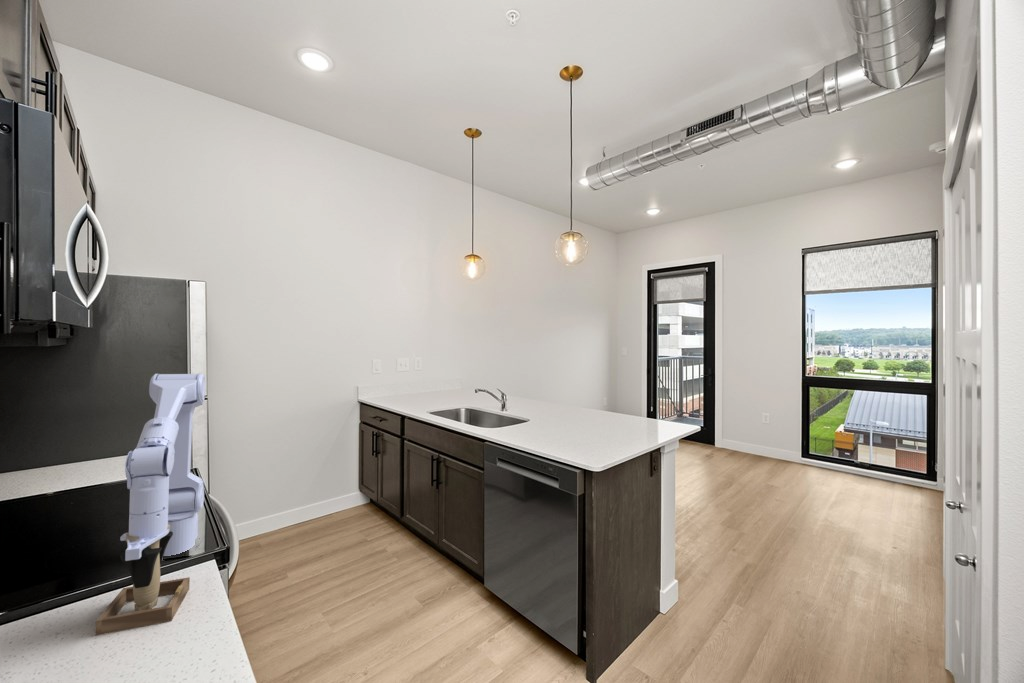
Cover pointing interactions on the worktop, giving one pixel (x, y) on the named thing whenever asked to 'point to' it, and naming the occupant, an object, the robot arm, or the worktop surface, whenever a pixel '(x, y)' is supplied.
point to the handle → (148, 595)
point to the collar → (146, 617)
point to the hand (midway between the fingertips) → (147, 579)
